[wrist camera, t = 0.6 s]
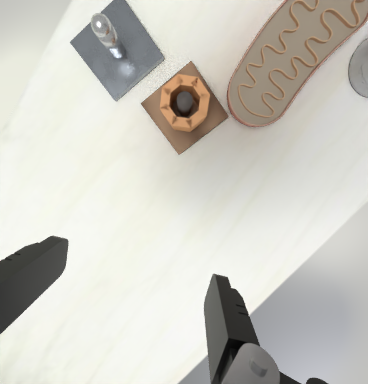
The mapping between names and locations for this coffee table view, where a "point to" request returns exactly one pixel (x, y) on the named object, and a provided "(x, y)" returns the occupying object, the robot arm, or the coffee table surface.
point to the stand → (184, 113)
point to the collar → (170, 96)
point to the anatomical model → (289, 55)
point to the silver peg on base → (117, 48)
